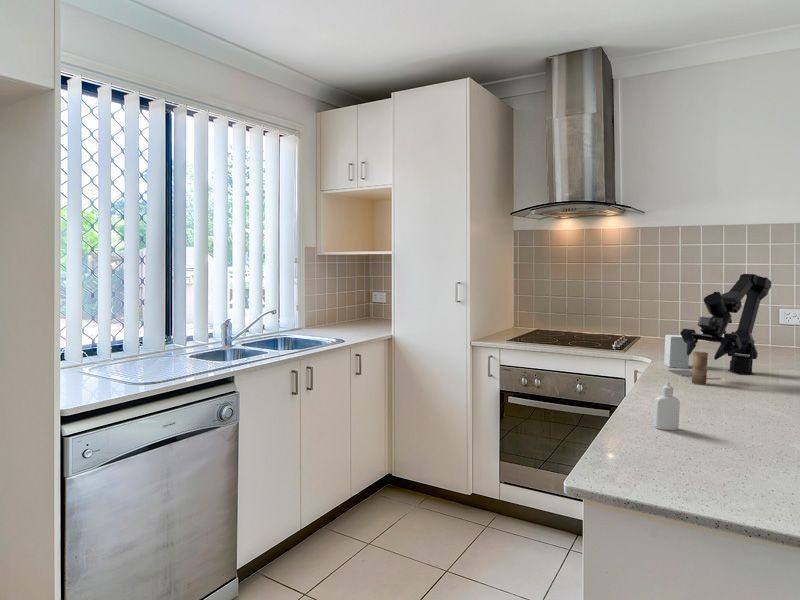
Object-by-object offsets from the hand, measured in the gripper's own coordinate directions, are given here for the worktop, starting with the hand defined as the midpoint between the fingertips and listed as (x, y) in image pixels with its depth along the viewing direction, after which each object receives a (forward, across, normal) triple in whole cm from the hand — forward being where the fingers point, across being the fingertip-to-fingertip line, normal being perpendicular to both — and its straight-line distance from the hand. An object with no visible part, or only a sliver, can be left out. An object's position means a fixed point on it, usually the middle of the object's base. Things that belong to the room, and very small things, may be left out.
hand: (700, 356), depth 183 cm
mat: (-2, -11, +15) cm, 19 cm away
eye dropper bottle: (+50, +20, -35) cm, 64 cm away
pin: (+7, 0, +6) cm, 9 cm away
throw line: (0, -3, +13) cm, 13 cm away
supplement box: (-10, -21, +24) cm, 33 cm away
